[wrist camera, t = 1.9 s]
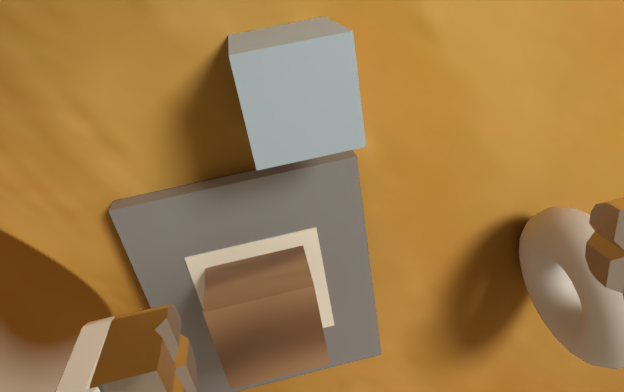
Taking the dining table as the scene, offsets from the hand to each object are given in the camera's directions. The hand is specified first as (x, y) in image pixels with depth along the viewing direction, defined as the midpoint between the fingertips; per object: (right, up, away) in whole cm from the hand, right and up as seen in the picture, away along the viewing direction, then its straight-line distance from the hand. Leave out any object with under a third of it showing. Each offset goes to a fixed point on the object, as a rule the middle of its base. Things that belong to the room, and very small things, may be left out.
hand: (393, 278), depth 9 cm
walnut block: (-5, -5, +20) cm, 21 cm away
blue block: (-3, +8, +16) cm, 18 cm away
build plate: (-5, -4, +21) cm, 22 cm away
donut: (+14, -2, +24) cm, 28 cm away
